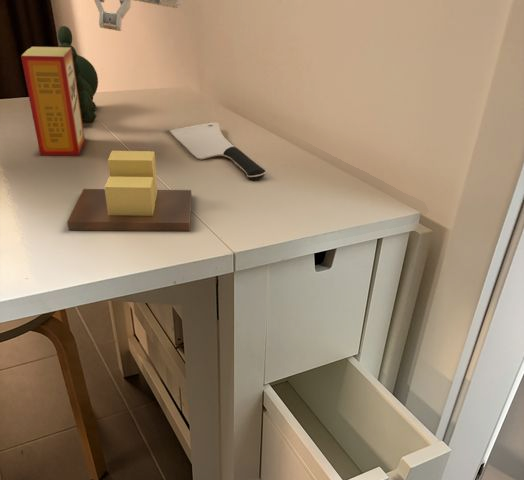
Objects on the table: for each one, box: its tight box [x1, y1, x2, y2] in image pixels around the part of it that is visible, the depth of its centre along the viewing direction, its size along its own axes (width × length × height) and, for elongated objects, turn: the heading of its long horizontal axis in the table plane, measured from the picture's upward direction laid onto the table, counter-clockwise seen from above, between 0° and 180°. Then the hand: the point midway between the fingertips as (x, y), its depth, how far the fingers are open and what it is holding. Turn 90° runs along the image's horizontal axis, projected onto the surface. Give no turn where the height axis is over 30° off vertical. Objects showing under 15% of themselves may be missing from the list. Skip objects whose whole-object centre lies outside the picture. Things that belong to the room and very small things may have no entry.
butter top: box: [104, 175, 155, 216], centre depth 76 cm, size 6×4×4 cm
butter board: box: [66, 188, 192, 232], centre depth 79 cm, size 16×12×1 cm
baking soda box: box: [20, 46, 86, 156], centre depth 97 cm, size 10×6×16 cm
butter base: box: [107, 150, 158, 201], centre depth 79 cm, size 6×4×6 cm, turn 94°
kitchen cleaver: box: [169, 122, 266, 181], centre depth 102 cm, size 31×2×10 cm
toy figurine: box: [57, 25, 99, 123], centre depth 114 cm, size 9×19×25 cm
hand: (110, 28), depth 80 cm, fingers closed
